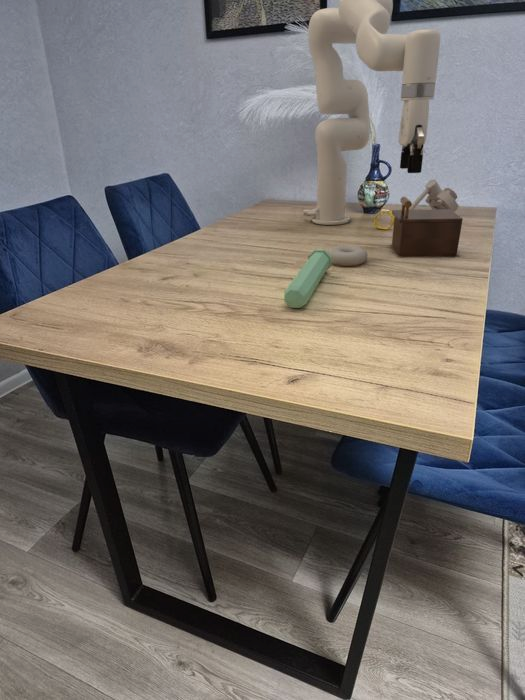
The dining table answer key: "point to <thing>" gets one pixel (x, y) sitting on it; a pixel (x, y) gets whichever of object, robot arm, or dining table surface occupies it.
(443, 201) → the valve
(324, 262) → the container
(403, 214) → the lid
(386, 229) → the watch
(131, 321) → the dining table surface
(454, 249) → the chest
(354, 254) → the donut
